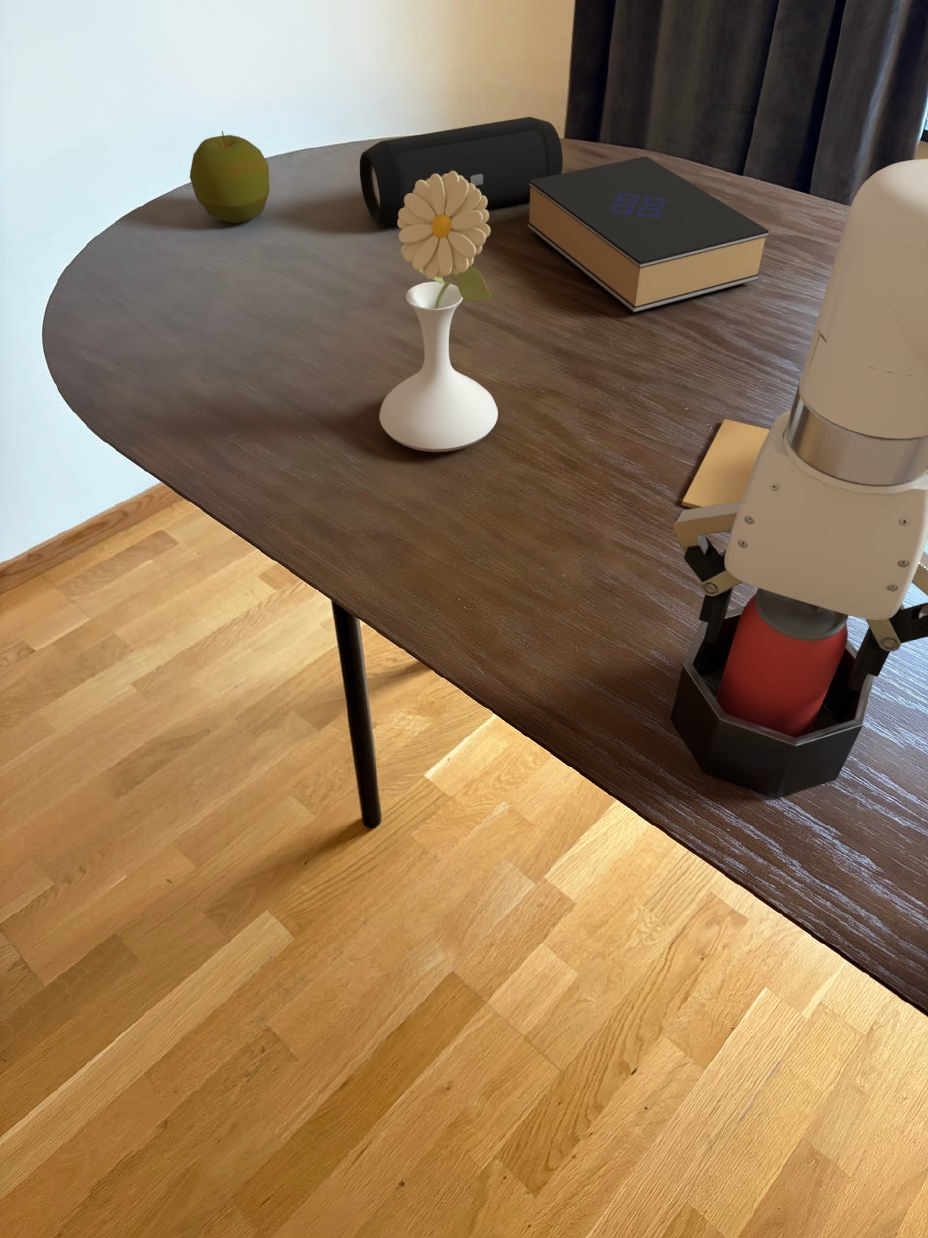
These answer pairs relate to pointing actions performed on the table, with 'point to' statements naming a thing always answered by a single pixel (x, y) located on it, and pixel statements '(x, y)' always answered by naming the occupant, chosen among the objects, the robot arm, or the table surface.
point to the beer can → (782, 662)
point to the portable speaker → (461, 163)
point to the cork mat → (726, 465)
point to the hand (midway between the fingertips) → (784, 650)
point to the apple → (230, 178)
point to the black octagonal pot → (756, 750)
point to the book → (645, 232)
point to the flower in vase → (441, 317)
